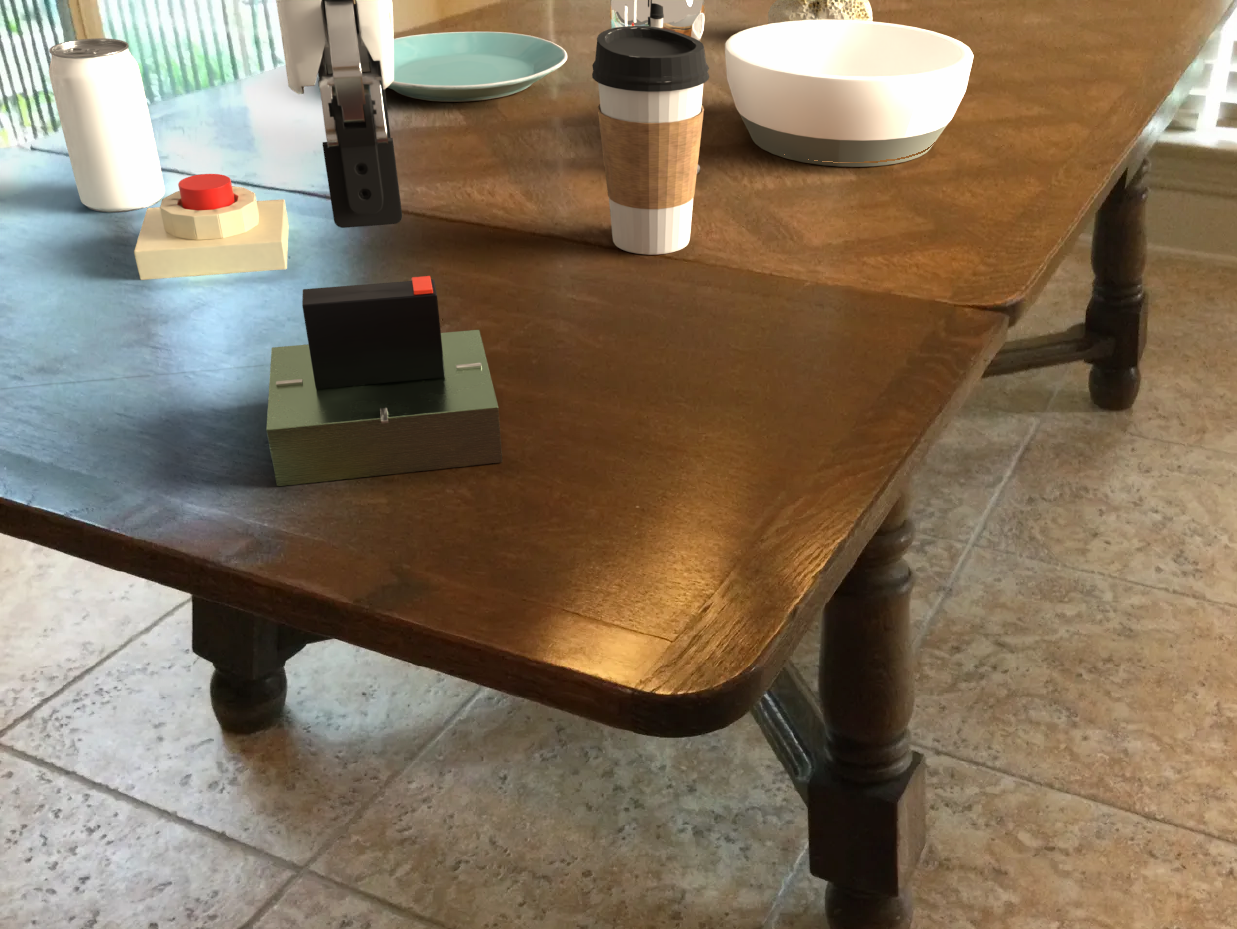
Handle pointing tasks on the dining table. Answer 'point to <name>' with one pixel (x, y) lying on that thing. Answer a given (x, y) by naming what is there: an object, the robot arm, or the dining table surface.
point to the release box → (213, 238)
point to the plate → (471, 64)
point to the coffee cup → (650, 133)
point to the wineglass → (661, 17)
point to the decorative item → (819, 10)
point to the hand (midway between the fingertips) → (366, 190)
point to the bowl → (845, 88)
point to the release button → (206, 192)
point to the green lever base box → (382, 418)
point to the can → (106, 124)
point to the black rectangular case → (374, 333)
